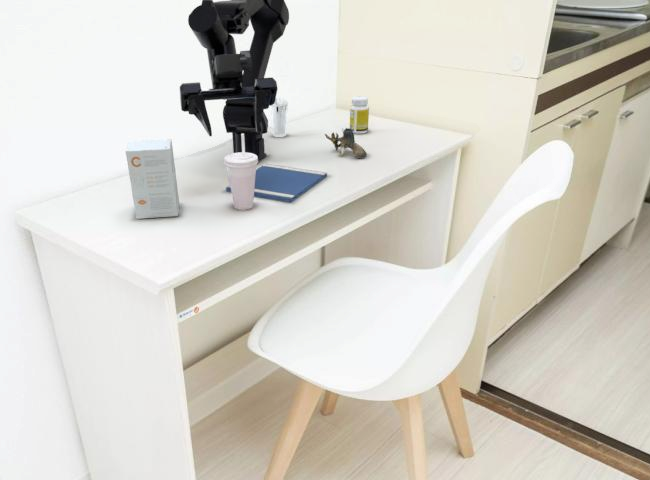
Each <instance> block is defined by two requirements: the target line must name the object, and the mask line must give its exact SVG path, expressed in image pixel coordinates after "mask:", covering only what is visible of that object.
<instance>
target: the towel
mask: <svg viewBox="0 0 650 480" xmlns="http://www.w3.org/2000/svg"><path fill="white" fill-rule="evenodd" d="M326 177H328V172H325V171H318V170H312V169H311V170H310V169H303V168H298V167H290V166H284V165H277V164H272V163H271V164H270V163H263V164H262V166H260V167H258V168H256V175H255V188H254V197H256V198H262V199H267V200H273V201H279V202H285V203H290V204H291V203H293V202H294V201H295V200H296V199H297V198H299V197H300V196H302V195H303V194H305V193H306V192H308V191H309V190H310V189H311V188H313V187H314V186H316V185H317V184H318V183H320V182H321V181H322V180H325V178H326ZM225 192H228V193H232V192H231V187H230V184H229V185H227V186H226V187H225Z"/></svg>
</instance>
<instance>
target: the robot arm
mask: <svg viewBox="0 0 650 480" xmlns="http://www.w3.org/2000/svg"><path fill="white" fill-rule="evenodd" d="M289 22H290V11H289V8H288V6H287V3H286V1H285V0H218V1H214V0H201V4H199V5H197V6H196V7H195V8H194V9H193V10H192V11H191V12H190V14H188V18H187V23H188V26H189V28H190V30H191V31H192V33H193V35H194V36H195V38H196V39H197V40H198V42H199V44H200V45H201V46H202V47H203V48H204V49H206V53H207V59H208V60H207V61H208V66H209V75H210V79H211V86H212V87H211V88H203V89H202V87H201V82H200V81H199V82H198V81H197V82H185V83H184V82H183V83H181V84H180V86H179V102H180V109H181V111H182V112H188V114H189V115H194V117H195V118H196V119H197V121H199V122H200V124H201V126H202V127H203V128H204V130H205V131H206V134H207V135H208V137H212V136H213V133H212V126H211V122H210V117H209V114H208V111H207V105H206V102H205V101H215V100H216V101H217V100H218V101H219V100H223V101H225V105H224V106H223V109H222V118H223V122H224V127H225V131H226V133H228V134H231V136H232V137H231V138H232V150H233V151H232V152H233V153H238V152H242V140H241V134H242V133H244V140H245V152H247V153H253V154H255V155H257V156H258V161H260V160H261V159H263V158H265V157H266V156H267V153H266V152H265V138H264V137H263V135H264V134H267V133H268V129H269V119H268V117H267V115H266V113H265V111H264V110H268V109H270V108H269V107H270V105H273V104H274V103H275V99H277V93H278V84H277V80H275V78H274V77H265V76H266V72H267V69H268V65H269V62H270V61H269V60H270V57H271V53H272V50H273V47H274V44H275V43H276V42H277V41H278V40H279V39H280V38H281V37H282V36H283V35H284V33H285V30H286V27H287V25H288V24H289ZM250 24H251V27H252V29H253V36H252V40H251V44H250V47H249V49H248V50H240V52H239V53H237V49H236V43H235V38H234V36H233V35H244V33H245V32H246V30H247V29H248V28H249V26H250Z"/></svg>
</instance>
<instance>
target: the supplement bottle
mask: <svg viewBox="0 0 650 480" xmlns="http://www.w3.org/2000/svg"><path fill="white" fill-rule="evenodd" d="M368 103H369V98H368V97H367V96H361V95H360V96H358V95H357V96H353V97H352V98H351V105H350V108H349V129H350V128H351V129H352V131H353V133H354V134H357V135H358V134H360V135H361V134H366V133H368V131H369V118H370V117H369V113H370V106H369V105H368Z"/></svg>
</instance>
